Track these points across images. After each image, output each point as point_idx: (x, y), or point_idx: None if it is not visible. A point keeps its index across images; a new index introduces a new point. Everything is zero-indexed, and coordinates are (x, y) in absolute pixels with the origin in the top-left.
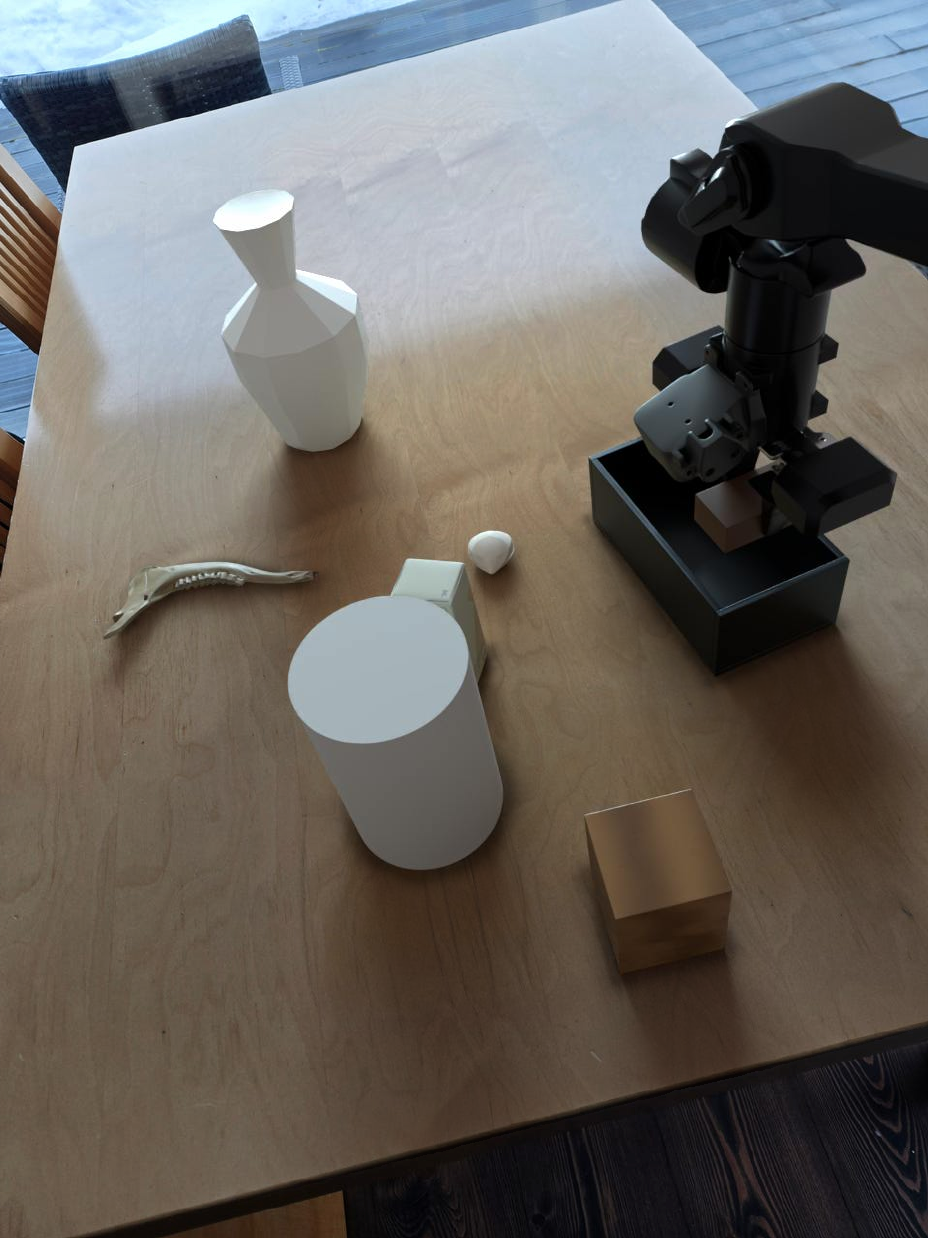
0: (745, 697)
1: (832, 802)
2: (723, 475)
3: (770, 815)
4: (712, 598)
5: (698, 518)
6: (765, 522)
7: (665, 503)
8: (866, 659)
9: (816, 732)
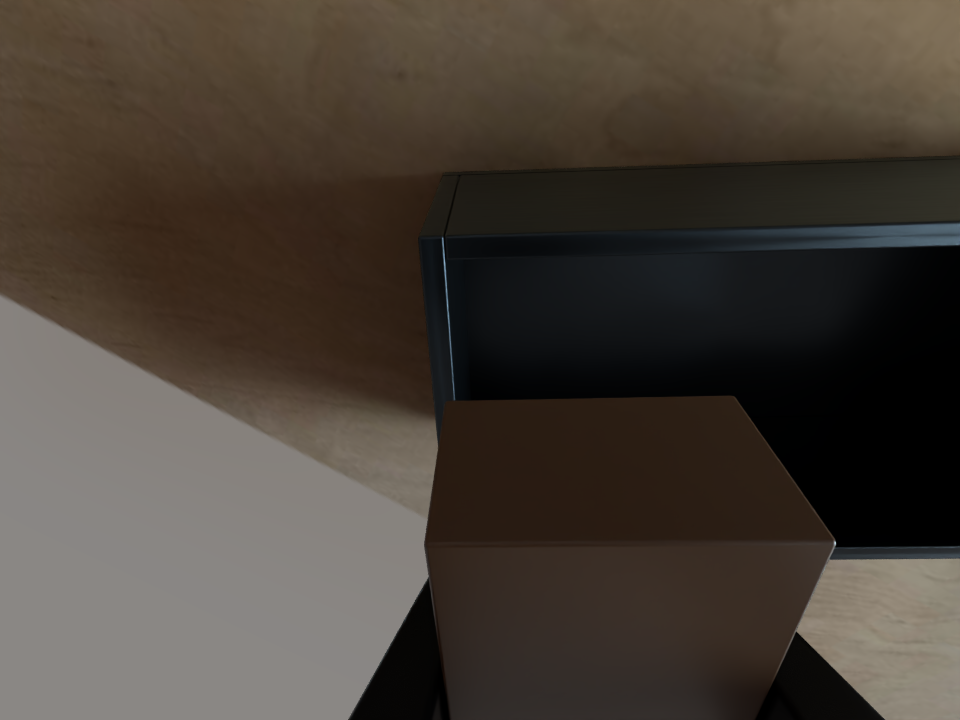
0: (372, 203)
1: (96, 219)
2: (819, 697)
3: (73, 87)
4: (495, 255)
5: (707, 419)
6: (402, 663)
7: (929, 330)
8: (373, 422)
9: (253, 277)
